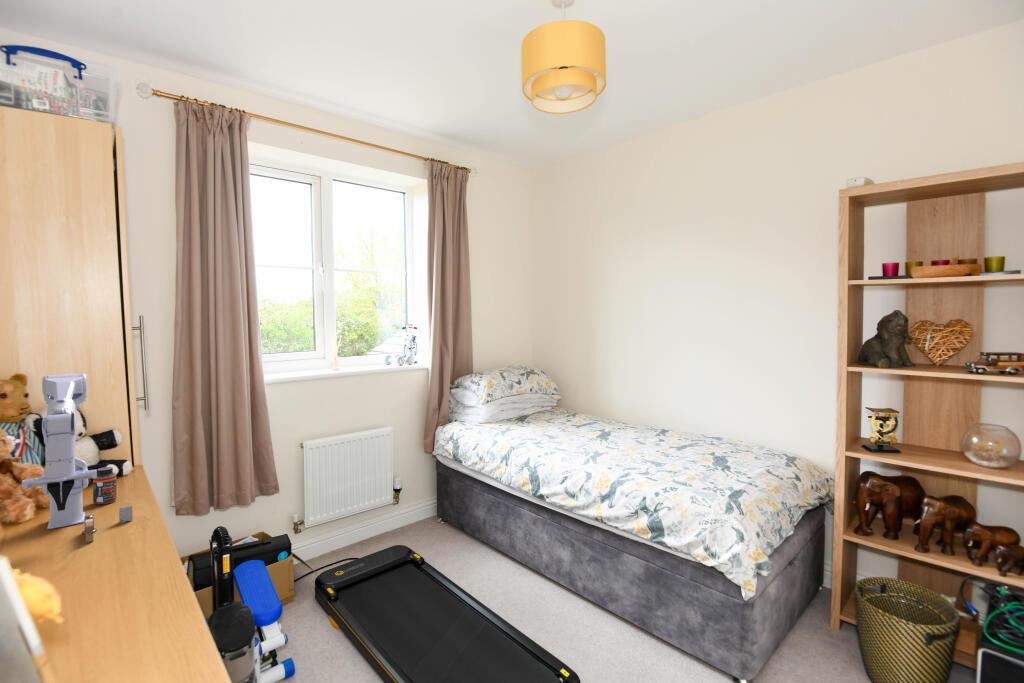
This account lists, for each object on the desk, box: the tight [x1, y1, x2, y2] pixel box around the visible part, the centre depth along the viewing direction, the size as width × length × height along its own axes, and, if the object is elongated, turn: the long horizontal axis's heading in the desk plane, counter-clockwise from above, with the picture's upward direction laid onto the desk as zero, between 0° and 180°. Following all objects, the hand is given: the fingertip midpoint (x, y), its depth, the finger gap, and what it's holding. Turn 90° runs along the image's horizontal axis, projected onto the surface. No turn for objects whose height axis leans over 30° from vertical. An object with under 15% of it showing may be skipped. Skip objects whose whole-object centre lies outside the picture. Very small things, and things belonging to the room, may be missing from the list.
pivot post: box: [81, 514, 98, 535], centre depth 137 cm, size 3×3×4 cm
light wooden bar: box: [85, 519, 94, 544], centre depth 133 cm, size 8×2×4 cm, turn 41°
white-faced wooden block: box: [118, 504, 133, 524], centre depth 145 cm, size 2×3×4 cm, turn 131°
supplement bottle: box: [92, 466, 118, 506], centre depth 160 cm, size 6×6×11 cm
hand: (61, 509), depth 130 cm, fingers closed
